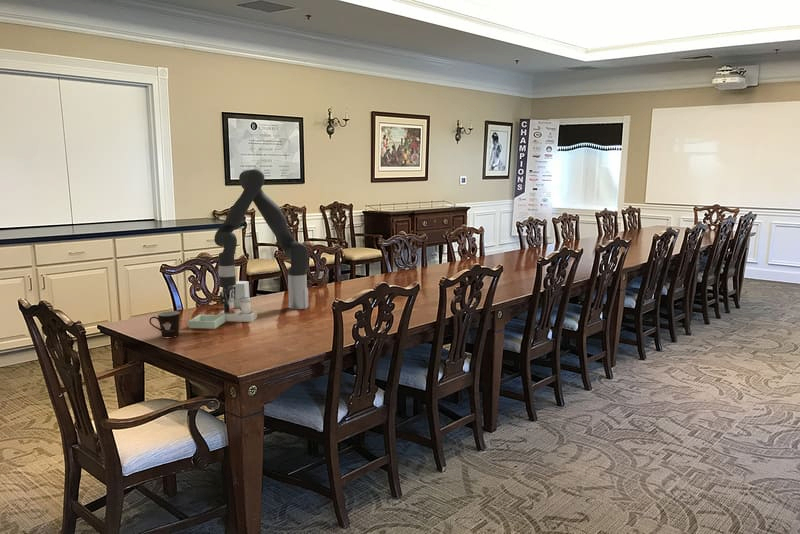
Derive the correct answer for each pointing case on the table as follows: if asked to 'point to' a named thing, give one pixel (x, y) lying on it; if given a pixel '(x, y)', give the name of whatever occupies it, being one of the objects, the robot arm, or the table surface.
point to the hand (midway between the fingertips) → (228, 310)
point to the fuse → (245, 305)
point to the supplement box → (240, 292)
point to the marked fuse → (231, 306)
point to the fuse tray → (207, 321)
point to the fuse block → (240, 316)
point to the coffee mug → (168, 323)
